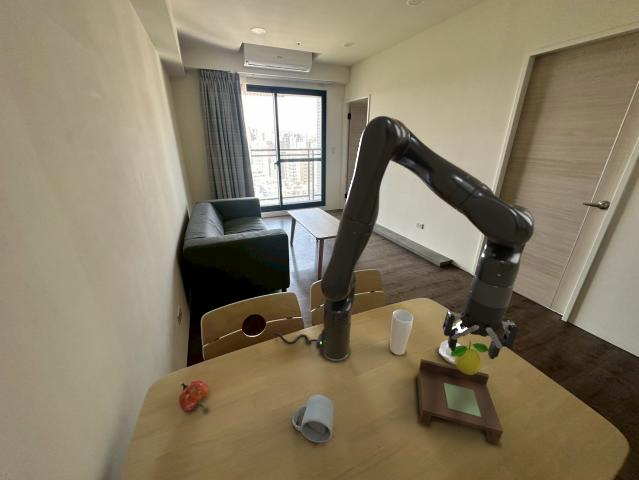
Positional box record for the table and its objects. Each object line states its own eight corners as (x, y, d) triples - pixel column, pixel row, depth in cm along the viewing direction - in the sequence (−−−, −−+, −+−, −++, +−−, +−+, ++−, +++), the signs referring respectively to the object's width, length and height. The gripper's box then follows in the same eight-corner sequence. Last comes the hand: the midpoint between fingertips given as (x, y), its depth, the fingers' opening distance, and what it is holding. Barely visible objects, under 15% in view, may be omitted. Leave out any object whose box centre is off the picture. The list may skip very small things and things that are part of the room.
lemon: (484, 371, 63) (490, 339, 60) (478, 387, 59) (484, 354, 56) (455, 357, 68) (459, 327, 64) (448, 372, 64) (451, 341, 60)
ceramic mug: (334, 412, 69) (335, 392, 66) (331, 445, 61) (331, 425, 58) (296, 406, 70) (295, 386, 67) (289, 438, 63) (287, 418, 60)
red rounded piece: (215, 401, 73) (195, 373, 75) (219, 398, 68) (198, 369, 70) (191, 424, 68) (170, 394, 70) (193, 423, 63) (171, 390, 65)
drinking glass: (404, 343, 92) (411, 310, 87) (409, 358, 86) (416, 323, 80) (386, 341, 93) (391, 308, 87) (389, 356, 87) (394, 321, 81)
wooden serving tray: (420, 422, 67) (425, 402, 64) (416, 377, 79) (421, 358, 76) (497, 444, 62) (507, 423, 59) (480, 393, 75) (488, 373, 72)
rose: (449, 331, 92) (477, 347, 85) (446, 340, 94) (474, 357, 87) (435, 344, 86) (464, 362, 79) (433, 354, 88) (461, 372, 81)
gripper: (518, 292, 57) (498, 347, 63) (449, 282, 60) (437, 335, 66) (534, 313, 50) (510, 372, 56) (456, 300, 54) (441, 357, 60)
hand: (470, 352), depth 61 cm, fingers closed on lemon, 8 cm apart
